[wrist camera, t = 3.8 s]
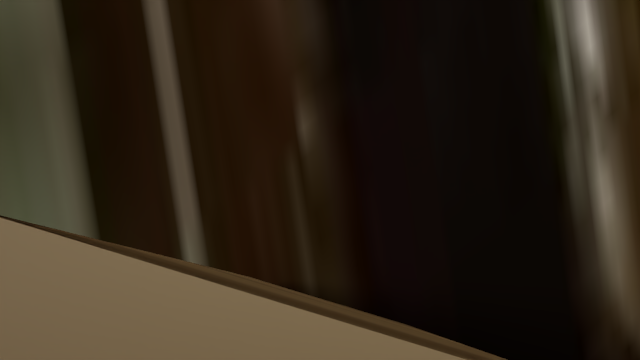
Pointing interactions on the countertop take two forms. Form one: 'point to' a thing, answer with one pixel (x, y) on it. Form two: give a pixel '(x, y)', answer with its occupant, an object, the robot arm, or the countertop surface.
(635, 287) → the countertop surface
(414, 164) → the countertop surface
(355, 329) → the oak post
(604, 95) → the countertop surface
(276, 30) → the countertop surface
